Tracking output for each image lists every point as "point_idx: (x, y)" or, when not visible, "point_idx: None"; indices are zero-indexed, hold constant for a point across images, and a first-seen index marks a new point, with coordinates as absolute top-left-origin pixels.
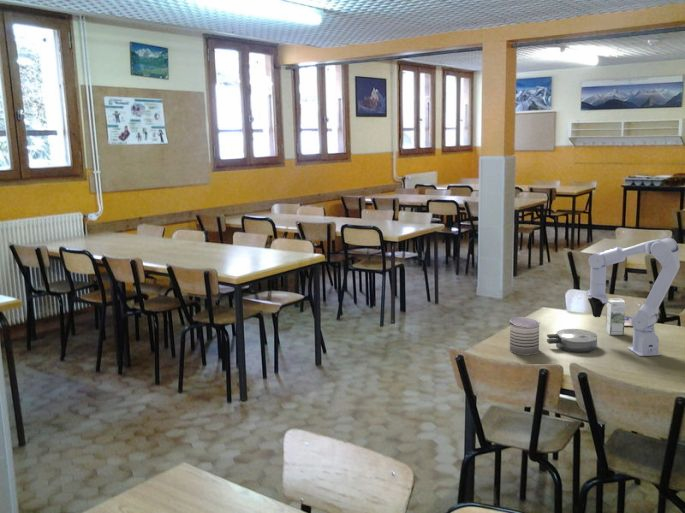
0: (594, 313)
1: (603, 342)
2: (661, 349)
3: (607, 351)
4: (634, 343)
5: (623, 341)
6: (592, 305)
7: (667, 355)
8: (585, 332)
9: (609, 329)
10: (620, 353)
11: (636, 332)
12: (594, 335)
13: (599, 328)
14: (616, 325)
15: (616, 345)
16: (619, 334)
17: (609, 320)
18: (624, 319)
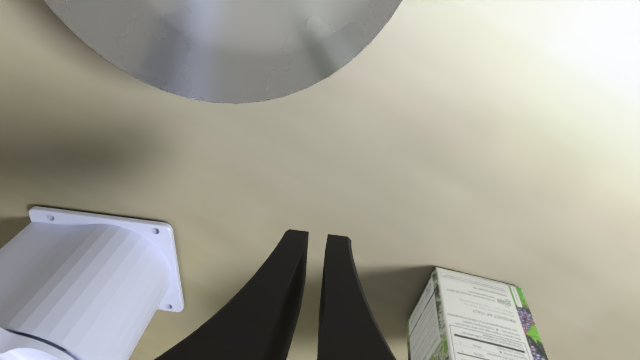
0: (274, 254)
1: (313, 162)
2: (157, 335)
3: (118, 86)
4: (76, 253)
5: (306, 269)
6: (320, 350)
7: None
8: (263, 27)
9: (450, 295)
10: (82, 141)
11: (8, 315)
12: (160, 65)
13: (602, 289)
14: (426, 347)
15: (239, 200)
16: (414, 310)
17: (470, 353)
18: None
